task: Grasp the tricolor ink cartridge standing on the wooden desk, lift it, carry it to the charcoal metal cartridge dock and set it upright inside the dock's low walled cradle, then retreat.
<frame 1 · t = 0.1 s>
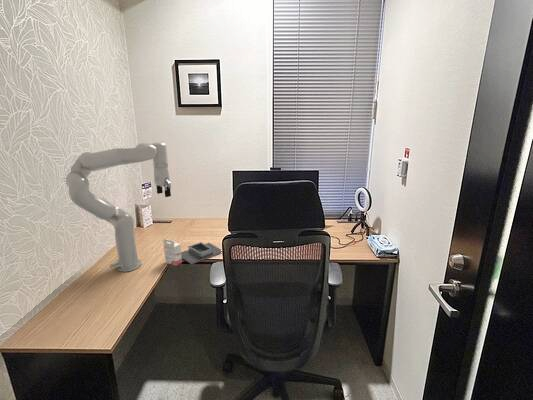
hand: (163, 194, 172), 37 cm above the table, tool pointing down, fingers open, 9 cm apart
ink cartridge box: (173, 262, 171), on the table
cartridge dock: (200, 253, 182), on the table
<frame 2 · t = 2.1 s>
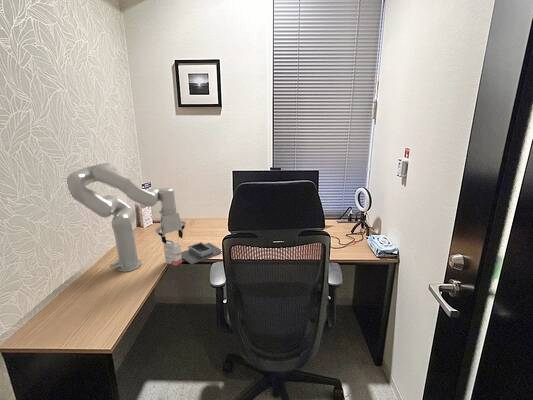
hand: (172, 240, 167), 14 cm above the table, tool pointing down, fingers open, 9 cm apart
nothing on the table moved.
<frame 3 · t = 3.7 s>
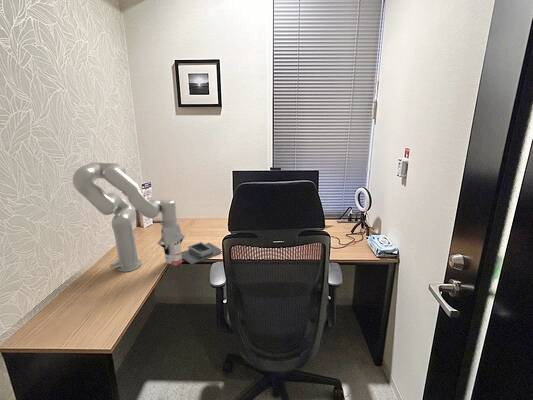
hand: (172, 252, 169), 7 cm above the table, tool pointing down, fingers closed on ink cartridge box, 6 cm apart
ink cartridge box: (173, 262, 171), on the table, touching gripper
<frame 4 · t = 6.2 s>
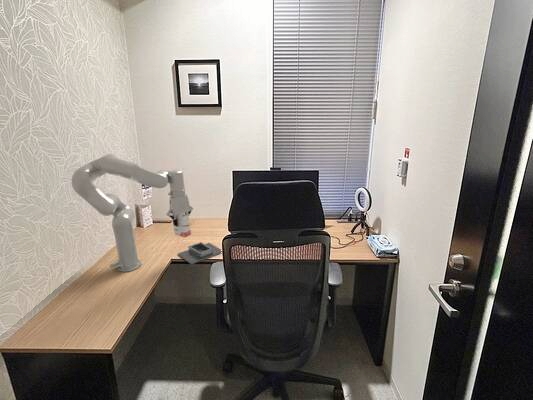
hand: (181, 223, 169), 22 cm above the table, tool pointing down, fingers closed on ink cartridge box, 6 cm apart
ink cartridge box: (183, 235, 171), point 15 cm above the table, touching gripper
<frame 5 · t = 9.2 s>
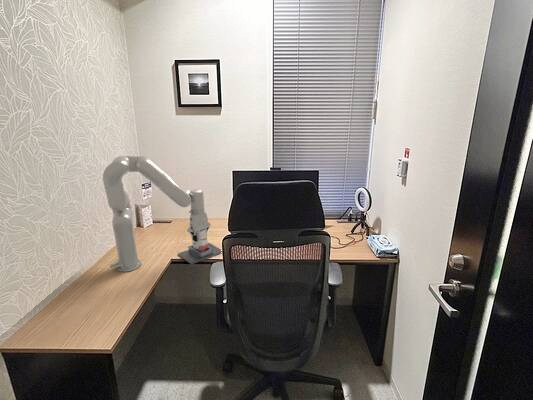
hand: (200, 239, 179), 10 cm above the table, tool pointing down, fingers closed on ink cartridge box, 5 cm apart
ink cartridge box: (201, 248, 181), point 3 cm above the table, touching cartridge dock, gripper
when the fingers open (9 cm above the table, at t = 10.1 s): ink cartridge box drops 2 cm, resting on cartridge dock.
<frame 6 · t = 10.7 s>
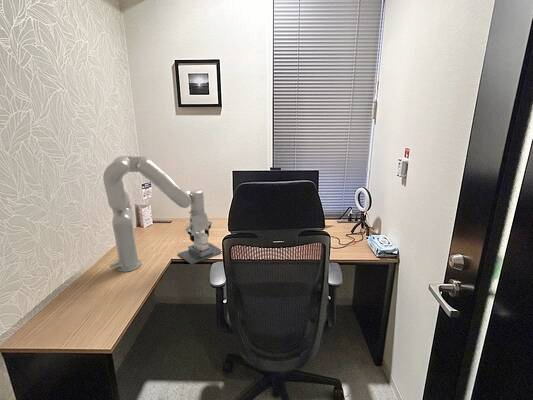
hand: (199, 238, 179), 10 cm above the table, tool pointing down, fingers open, 9 cm apart
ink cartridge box: (201, 252, 182), point 1 cm above the table, touching cartridge dock
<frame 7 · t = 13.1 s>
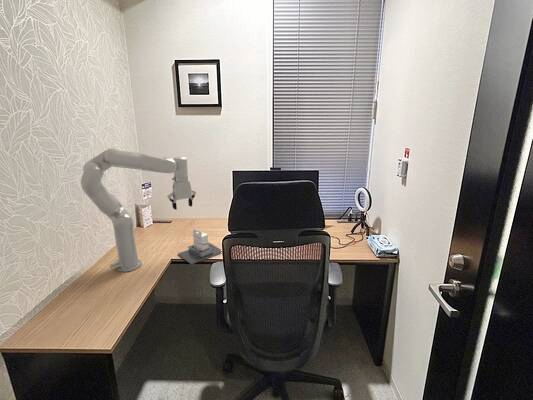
hand: (182, 207, 176), 28 cm above the table, tool pointing down, fingers open, 9 cm apart
nothing on the table moved.
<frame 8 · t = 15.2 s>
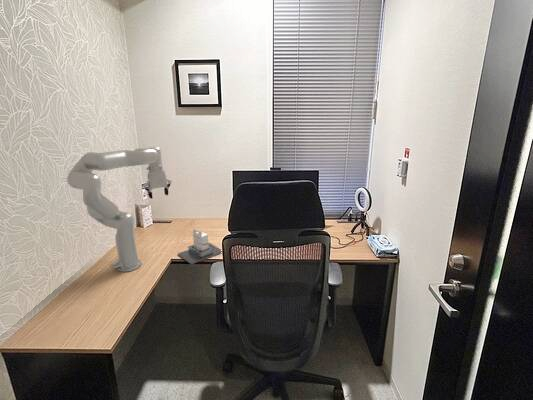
hand: (158, 196, 181), 33 cm above the table, tool pointing down, fingers open, 9 cm apart
nothing on the table moved.
at the end: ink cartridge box 0.7 cm off-centre on the cartridge dock, point 0.8 cm above the cartridge dock's base; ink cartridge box tilted 0°; the gripper is holding nothing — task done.
